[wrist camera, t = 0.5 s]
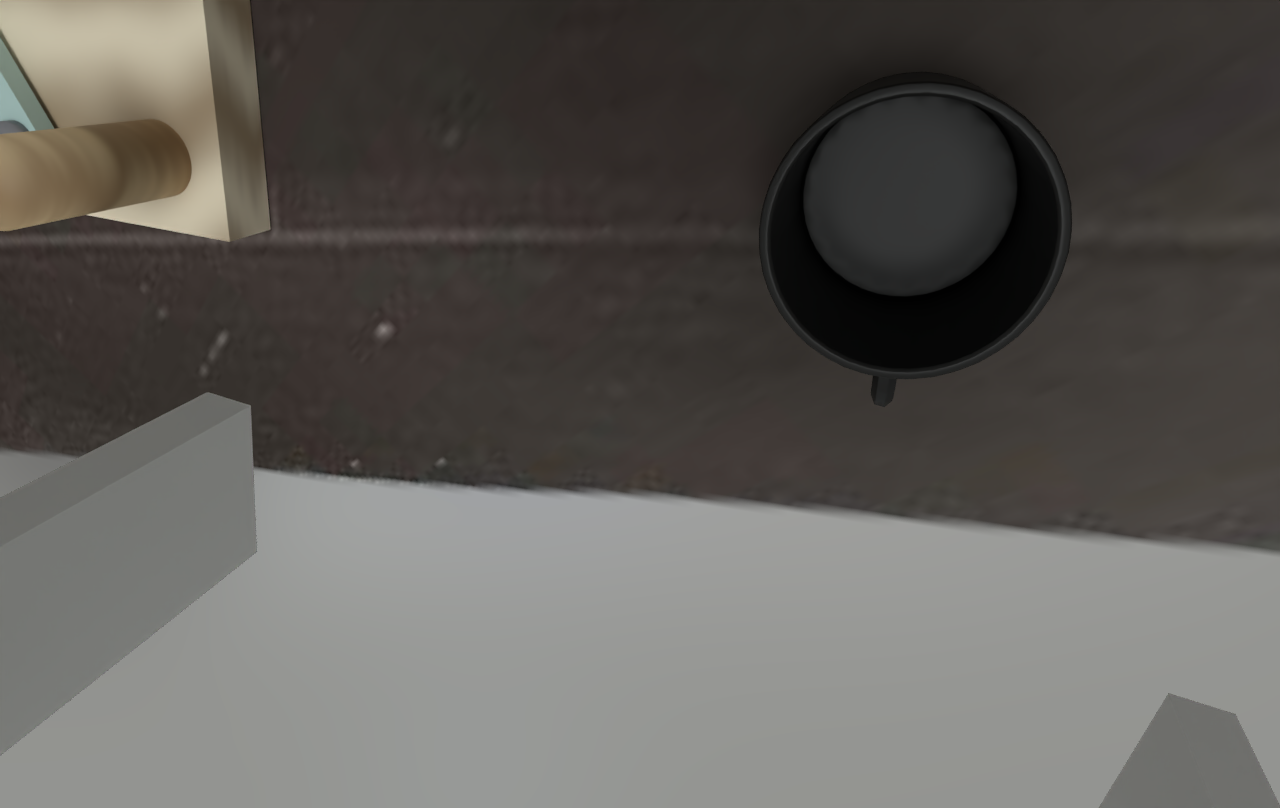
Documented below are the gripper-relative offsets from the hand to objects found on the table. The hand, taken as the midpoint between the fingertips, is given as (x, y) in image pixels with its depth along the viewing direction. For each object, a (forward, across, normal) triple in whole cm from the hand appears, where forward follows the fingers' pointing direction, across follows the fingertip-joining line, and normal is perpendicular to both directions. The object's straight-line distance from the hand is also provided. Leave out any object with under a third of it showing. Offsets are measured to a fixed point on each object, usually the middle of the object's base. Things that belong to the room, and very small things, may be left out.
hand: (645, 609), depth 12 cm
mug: (+27, +3, +1) cm, 28 cm away
